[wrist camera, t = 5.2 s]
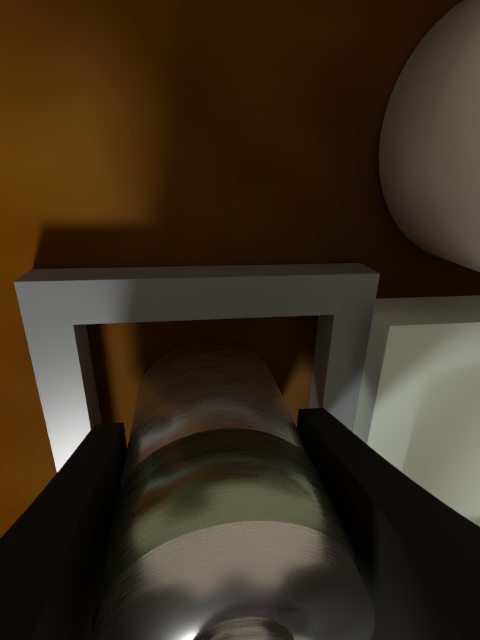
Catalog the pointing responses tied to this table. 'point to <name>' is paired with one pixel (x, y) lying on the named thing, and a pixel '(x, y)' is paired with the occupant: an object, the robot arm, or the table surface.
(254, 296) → the cradle
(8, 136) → the table surface
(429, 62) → the cup
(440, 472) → the trough tray
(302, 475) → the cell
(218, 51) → the table surface
